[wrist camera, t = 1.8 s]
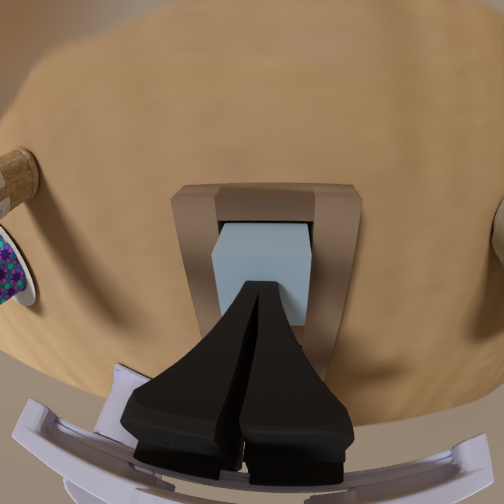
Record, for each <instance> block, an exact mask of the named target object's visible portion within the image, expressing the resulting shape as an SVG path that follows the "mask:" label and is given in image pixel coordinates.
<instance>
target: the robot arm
mask: <svg viewBox="0 0 504 504" xmlns="http://www.w3.org/2000/svg"><path fill="white" fill-rule="evenodd" d="M12 437H13V438H14V439H15V440H16V441H17V442H19V443H20V444H21V445H22V446H24V447H25V448H26V449H27V450H29V451H30V452H31V453H32V454H34V455H35V456H36V457H38V458H39V459H40V460H41V461H42V462H44V463H45V464H46V465H48V466H49V467H50V468H52V469H53V470H55V471H56V472H57V473H59V474H60V475H62V476H63V477H64V479H63V482H64V488H65V489H66V491H67V492H68V493H69V495H70V496H71V498H72V499H73V500H74V501H75V503H76V504H235V503H228V502H221V501H215V500H209V499H204V498H199V497H194V496H189V495H185V494H181V493H177V492H174V491H175V486H174V485H173V484H170V483H168V482H165V481H163V480H162V475H164V476H168V477H172V478H176V479H180V480H184V481H189V482H193V483H198V484H203V485H208V486H214V487H220V488H227V489H235V490H245V491H255V492H271V493H315V492H330V491H341V490H348V491H346V492H339V493H331V494H323V495H313V496H311V497H310V498H309V499H306V500H305V501H304V504H454V503H456V502H458V501H460V500H462V499H464V498H466V497H468V496H470V495H472V494H474V493H476V492H478V491H480V490H482V489H483V488H485V487H487V486H489V485H490V484H492V483H493V481H494V479H493V471H492V464H491V459H490V453H489V448H488V443H487V439H486V434H485V433H481V434H479V435H476V436H474V437H471V438H469V439H466V440H464V441H462V442H460V443H458V444H457V445H455V446H454V447H452V449H450V450H447V451H444V452H441V453H438V454H435V455H432V456H428V457H425V458H421V459H418V460H414V461H410V462H405V463H401V464H397V465H392V466H387V467H382V468H376V469H370V470H363V471H355V472H347V473H344V468H343V462H345V450H346V449H347V448H348V447H349V446H350V445H351V444H352V443H353V441H354V431H353V426H352V423H351V420H350V417H349V414H348V412H347V409H346V408H345V407H344V406H343V404H342V403H341V402H340V401H339V400H338V399H337V398H336V397H335V396H334V395H333V393H332V392H331V391H330V390H329V389H328V387H327V386H326V385H325V384H324V382H323V381H322V380H321V378H320V377H319V375H318V374H317V373H316V371H315V370H314V368H313V367H312V365H311V364H310V362H309V361H308V359H307V357H306V356H305V354H304V353H303V351H302V349H301V347H300V345H299V343H298V342H297V340H296V338H295V335H294V333H293V331H292V329H291V327H290V324H289V322H288V319H287V317H286V314H285V311H284V308H283V305H282V302H281V298H280V293H279V283H278V282H276V281H250V280H247V281H245V282H244V284H243V286H242V288H241V289H240V291H239V293H238V294H237V296H236V297H235V299H234V301H233V302H232V304H231V305H230V306H229V308H228V309H227V311H226V312H225V313H224V315H223V316H222V317H221V318H220V320H219V321H218V322H217V323H216V325H215V326H214V327H213V328H212V329H211V331H210V332H209V333H208V334H207V335H206V336H205V337H204V338H203V339H202V340H201V341H200V342H199V343H198V344H197V345H196V346H195V347H194V348H193V349H192V350H191V351H189V352H188V353H187V354H186V355H185V356H184V357H182V358H181V359H180V360H179V361H178V362H176V363H175V364H173V365H172V366H171V367H169V368H168V369H167V370H165V371H164V372H162V373H161V374H159V375H158V376H156V377H155V378H153V379H149V378H147V377H145V376H142V375H140V374H138V373H136V372H134V371H132V370H130V369H128V368H126V367H124V366H122V365H120V364H116V365H115V368H114V376H113V386H112V389H111V391H110V393H109V396H108V398H107V400H106V402H105V405H104V407H103V409H102V412H101V414H100V416H99V419H98V421H97V423H96V426H95V428H94V431H93V432H92V433H91V432H88V431H86V430H84V429H82V428H80V427H77V426H76V425H74V424H72V423H70V422H68V421H66V420H64V419H62V418H60V417H58V416H57V415H56V414H55V413H54V412H52V410H50V409H49V408H48V407H46V406H45V405H43V404H42V403H40V402H38V401H37V400H35V399H33V398H29V400H28V402H27V404H26V406H25V408H24V410H23V412H22V414H21V416H20V419H19V421H18V423H17V425H16V427H15V429H14V431H13V433H12ZM244 441H245V448H244ZM243 451H244V455H243ZM242 462H245V463H246V466H247V468H248V473H242V472H238V471H239V470H241V469H242Z"/></svg>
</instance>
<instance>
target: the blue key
mask: <svg viewBox="0 0 504 504" xmlns="http://www.w3.org/2000/svg"><path fill="white" fill-rule="evenodd" d="M211 255H212V261H213V268H214V274H215V280H216V286H217V292H218V298H219V304H220V309H221V315H222V316H223V315H224V313H225V312H226V311H227V309H228V308H229V306H230V305H231V304H232V302H233V301H234V299H235V297H236V296H237V294H238V293H239V291H240V289H241V288H242V286H243V284H244V282H245V281H247V280H250V281H276V282H278V283H279V293H280V298H281V302H282V305H283V308H284V311H285V314H286V317H287V319H288V322H289V324H290V325H295V326H305V319H306V310H307V301H308V291H309V281H310V270H311V258H312V255H311V247H310V240H309V233H308V226H307V223H225V224H224V226H223V229H222V231H221V233H220V236H219V238H218V240H217V242H216V245H215V247H214V249H213V252H212V254H211Z"/></svg>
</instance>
